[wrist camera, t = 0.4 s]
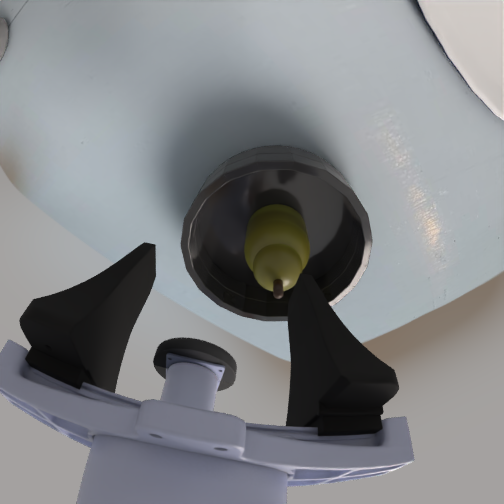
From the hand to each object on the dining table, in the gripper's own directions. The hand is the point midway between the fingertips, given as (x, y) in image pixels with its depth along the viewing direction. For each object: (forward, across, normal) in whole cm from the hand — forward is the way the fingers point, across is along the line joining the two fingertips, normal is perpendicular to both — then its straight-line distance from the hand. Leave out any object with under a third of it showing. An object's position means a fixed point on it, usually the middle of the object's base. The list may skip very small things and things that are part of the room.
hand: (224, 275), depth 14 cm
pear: (+8, -3, +2) cm, 9 cm away
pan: (+9, -3, +2) cm, 10 cm away
